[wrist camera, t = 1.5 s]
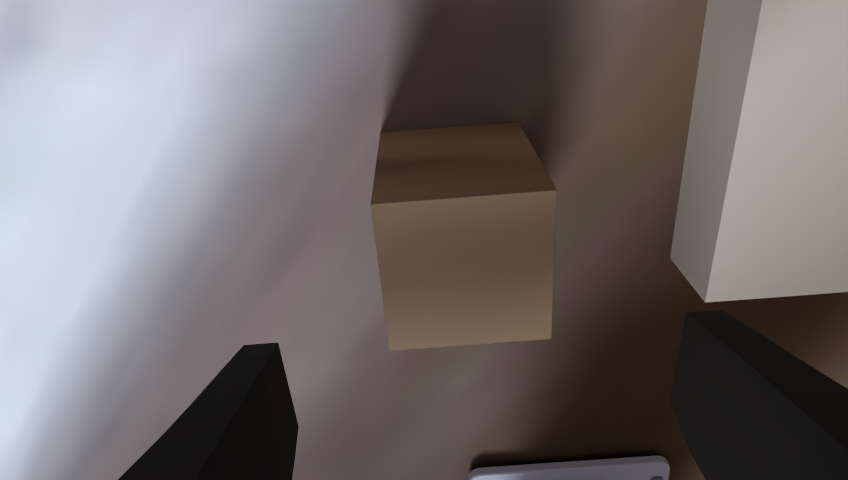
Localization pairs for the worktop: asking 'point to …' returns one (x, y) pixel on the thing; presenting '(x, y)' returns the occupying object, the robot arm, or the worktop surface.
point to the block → (463, 236)
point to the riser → (767, 153)
